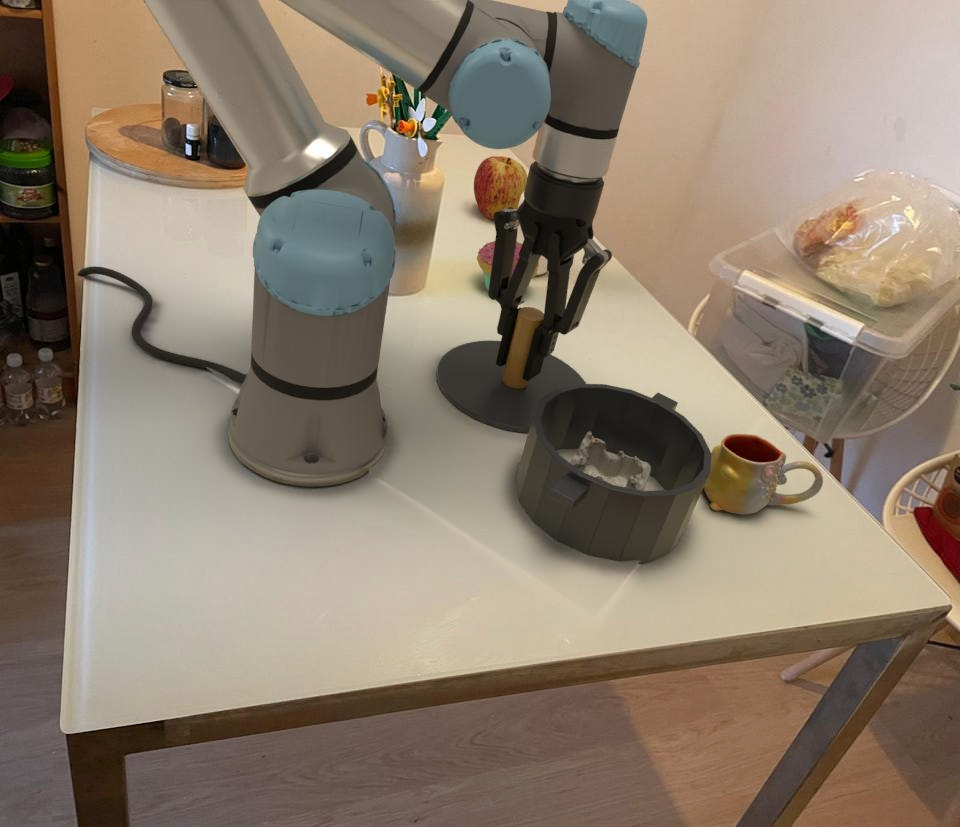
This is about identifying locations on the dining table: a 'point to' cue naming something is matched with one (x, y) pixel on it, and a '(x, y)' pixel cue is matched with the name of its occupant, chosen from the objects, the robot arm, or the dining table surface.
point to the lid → (502, 377)
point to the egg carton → (611, 464)
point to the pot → (595, 503)
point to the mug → (752, 475)
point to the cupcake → (487, 258)
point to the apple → (499, 184)
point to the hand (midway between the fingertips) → (518, 368)
